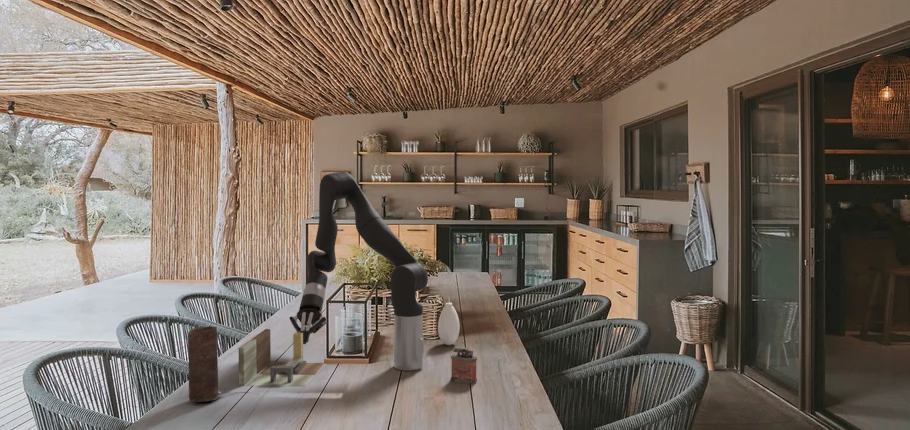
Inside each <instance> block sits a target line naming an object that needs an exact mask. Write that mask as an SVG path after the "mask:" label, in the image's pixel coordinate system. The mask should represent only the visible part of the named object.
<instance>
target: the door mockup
mask: <svg viewBox="0 0 910 430" xmlns="http://www.w3.org/2000/svg"><path fill="white" fill-rule="evenodd" d="M271 345H272V344H271V328H265V329H263V330H262V331H261V332H260V333H258V334H257V335H255V336H253V337H252V338H251V339H249V340H248V341H246V342H245V343H244V344H242V345H241V346H239V347H238V385H239V387H240V386H242V387H243V386H249V387H307V385H308V383H310V381H311V380H312V379H313V378H314V376H315V375H316V374H317V373H318V372H319V370H320V369H321V368H322V367H323V366H324V364H325V362H306V366H305V367H304V368H303V369H302V370H301V371H300V372H299V373H298V374H295V371H294V372H293V381H292V382H291V383H288V378H287V373H284V374H283V373H280V372H277V371H276V381H275V382H270V368H271V367H272V366H285V365H286V364H287V363H288V362H289V361H287V362H282V361H281V362H278V361H277V362H274V361H273V362H271V360H272V359H271V357H272V356H271V352H272V351H271V347H272V346H271Z"/></svg>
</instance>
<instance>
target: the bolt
mask: <svg viewBox="0 0 910 430" xmlns="http://www.w3.org/2000/svg"><path fill="white" fill-rule="evenodd" d="M292 339H293V340H292V341H293V342H292V343H293V344H292V345H293V348H292V351H293V354H292V355H293V357H292V358H291V359H290V360H289V361H287V362H288V363H287V364H286V365H285V366H293V372H294V371H295V369H296V368H297V367H298V366H299V365H300V364H301V363H302V362H303V361H304V344H303V332H297V331H296V332H294V333H293V334H292ZM285 373H287V372H285Z"/></svg>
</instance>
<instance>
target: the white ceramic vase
mask: <svg viewBox="0 0 910 430" xmlns="http://www.w3.org/2000/svg"><path fill="white" fill-rule="evenodd" d="M438 318H439V319H438V324H437V331H438V337H439V339H440V341H441V342H442V343H443V344H444V345H446V346H451V345H453V344H454V343H455V342H457V340H458V338H459V334H460V330H461V329H460V319H459V315H458V313H457V311H456V308H455V307H454V306H453V303H452V302H451V300H450V297H448V301H447V302H446V303H445V305H444V306H443V308H442V310H441V313H440V316H439V317H438Z"/></svg>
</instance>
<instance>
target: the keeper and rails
mask: <svg viewBox="0 0 910 430" xmlns="http://www.w3.org/2000/svg"><path fill="white" fill-rule="evenodd" d="M306 363H307V361H306V360H303V362H302V363H301V364H300V365H299V366H298V367H297V368H296V369H295V374H298V373H299V372H300V371H301V370H302V369H303V368H304V367H305V366H306ZM276 371H277V372H280V373H283V374H284V373H285V372H287V378H288V383H291V382H292V381H293V366H272V367H271V368H270V374H269V375H270V382H275V381H276V375H277V374H276Z"/></svg>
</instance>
